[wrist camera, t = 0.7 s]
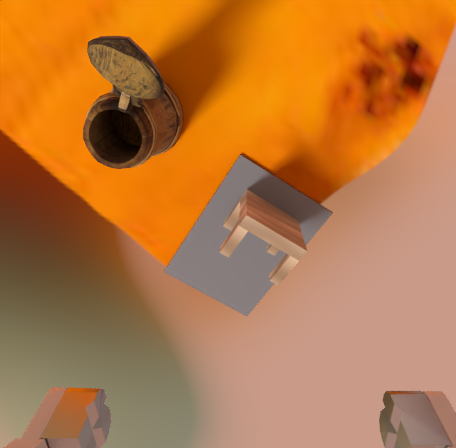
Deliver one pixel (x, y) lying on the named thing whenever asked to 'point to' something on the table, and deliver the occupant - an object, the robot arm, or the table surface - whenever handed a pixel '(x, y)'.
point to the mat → (250, 244)
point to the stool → (265, 232)
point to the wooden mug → (130, 106)
